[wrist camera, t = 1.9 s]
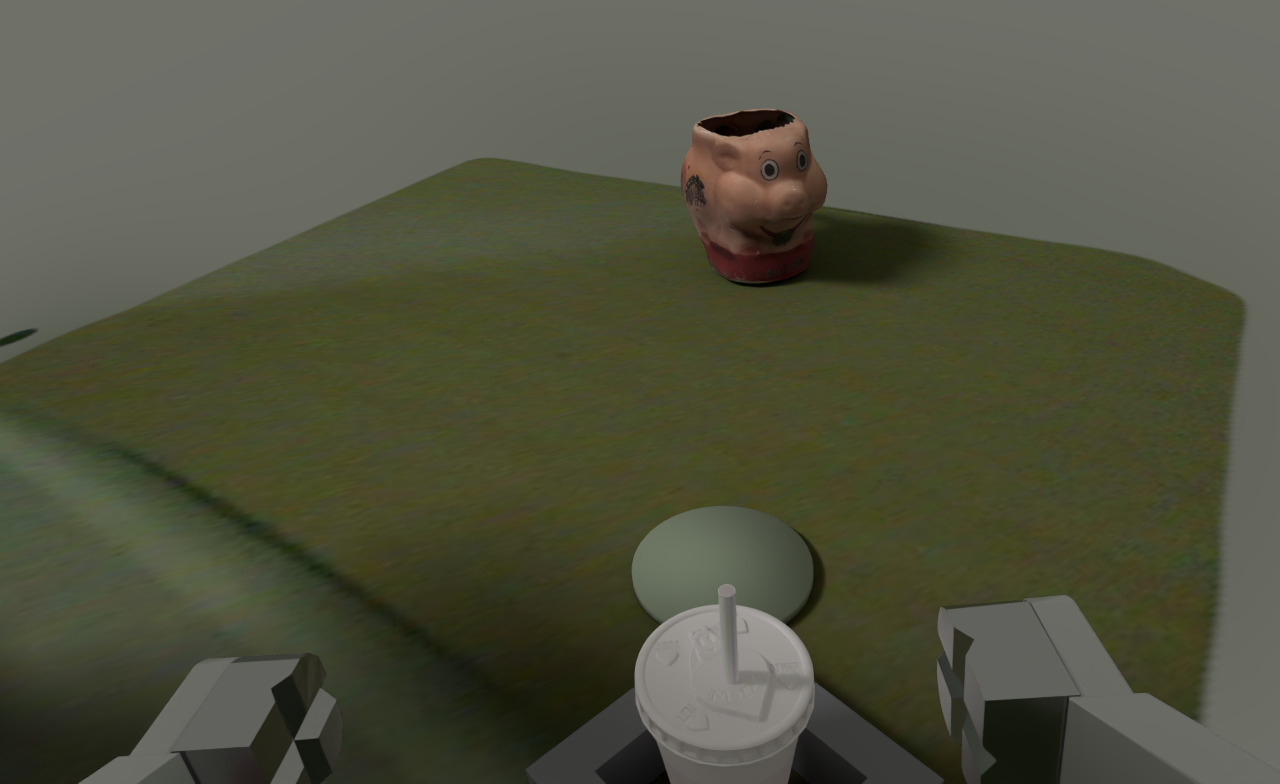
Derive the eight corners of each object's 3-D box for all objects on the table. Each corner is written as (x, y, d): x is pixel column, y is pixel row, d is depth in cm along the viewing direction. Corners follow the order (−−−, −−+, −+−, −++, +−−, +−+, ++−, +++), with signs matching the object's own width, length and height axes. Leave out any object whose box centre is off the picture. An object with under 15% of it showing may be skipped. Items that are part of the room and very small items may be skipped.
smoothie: (699, 939, 31) (674, 691, 24) (628, 795, 36) (590, 554, 29) (842, 858, 33) (861, 607, 26) (757, 733, 38) (751, 493, 31)
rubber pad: (596, 573, 48) (595, 565, 48) (722, 491, 53) (721, 484, 53) (721, 676, 41) (721, 668, 41) (851, 572, 46) (851, 563, 46)
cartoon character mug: (650, 242, 89) (638, 107, 81) (751, 217, 92) (748, 85, 85) (746, 315, 73) (742, 156, 65) (863, 281, 77) (872, 126, 69)
